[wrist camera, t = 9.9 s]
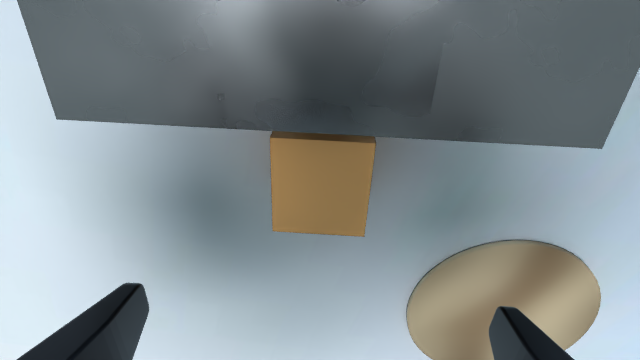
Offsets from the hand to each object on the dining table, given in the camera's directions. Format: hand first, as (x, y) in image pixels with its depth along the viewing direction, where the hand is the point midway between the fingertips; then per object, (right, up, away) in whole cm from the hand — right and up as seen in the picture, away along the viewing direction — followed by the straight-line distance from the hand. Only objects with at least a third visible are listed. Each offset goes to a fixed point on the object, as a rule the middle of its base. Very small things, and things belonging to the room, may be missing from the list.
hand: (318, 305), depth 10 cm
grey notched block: (+1, +9, +4) cm, 10 cm away
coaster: (+10, -4, +11) cm, 16 cm away
